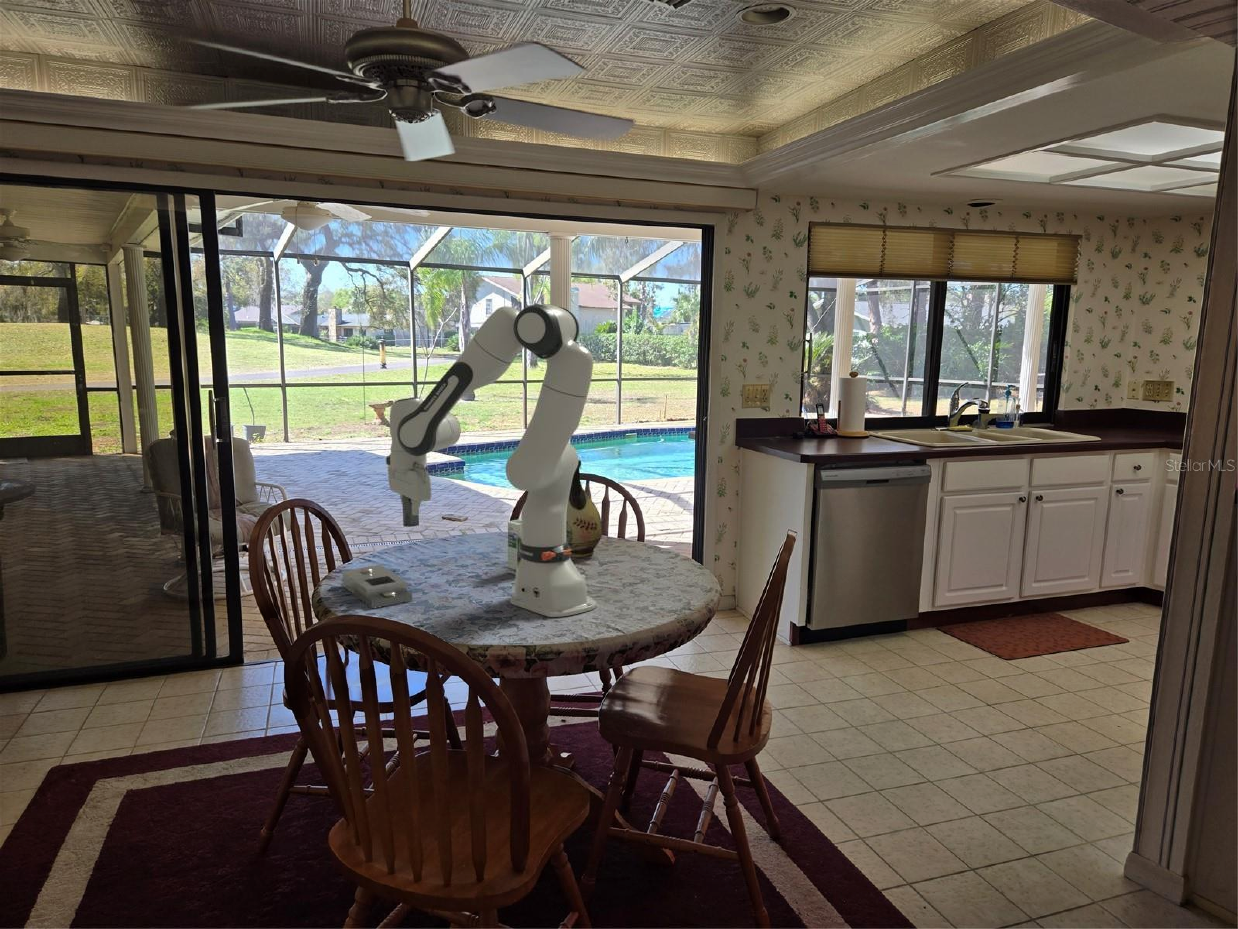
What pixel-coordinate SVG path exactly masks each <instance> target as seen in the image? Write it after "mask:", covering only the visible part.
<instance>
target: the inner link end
mask: <svg viewBox="0 0 1238 929" xmlns="http://www.w3.org/2000/svg"><path fill="white" fill-rule="evenodd" d="M353 595H354V596H355V597H356V596H357V597H358V598H357V597H356V598H357V599H359V600H360V599H361V600H362V601H363V602H362V601H361V600H360V601H361V602H362V603H364V602H365V603H366V604H367V605H366V604H365V603H364V604H365V605H366V606H367V607H369V606H370V607H371V608H374V609H376V608H375V607H379V606H385V607H388V606H389V607H390V606H393V605H394V604H395V605H400V604H404V603H403V602H405V603H410V602H413V593H412V592H411V591H409V590H408V589H407V590H406V591H400V592H395V591H387V592H383V595H378V596H373V597H368V598H367V597H366V596H365V595H363V594H362V593H361V592H359V591H358V590H357V589H356V588H354V594H353ZM399 603H400V604H399ZM370 607H369V608H370ZM371 608H370V609H371ZM379 608H380V607H379Z"/></svg>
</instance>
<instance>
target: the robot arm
mask: <svg viewBox="0 0 1238 929" xmlns="http://www.w3.org/2000/svg"><path fill="white" fill-rule="evenodd" d="M579 334H580V324H579V320H578V319H577V317H576V316H575V315H574V313H573V312H571V311H570V310H569V309H567V308H564V307H561V306H556V305H554V304H546V303H545V304H543V303H542V304H530V305H528V306H526V307H525V308H523V309H521V310H518V309H517V308H515V307H512V306H506V305H505V306H501V307H498V308H496V309H495V311H494V312H492V313H491V314H490V316H488V317H487V319H486V320H485V321H484V322H483V323H482V325H481V326H480V327H479V328H478V330H477V331H476V333H475V334H474V335H473V337H472V339H471V340H470V341H469V343H468V344H467V346H466V347H465V348H464V349H463V351H462V353H461V354H460V355H459V356H458V358H457V359H456V360H455V361H454V363H453V364H452V365H451V367H450V368H449V369H448V370H447V371H446V372H445V374H443V375H442V377H441V378H440V379H439V381H438V382H437V383H436V384H435V386H434V387H433V388H432V389H431V391H430V392H429V393H428V395H427V396H426V397H425V398H424V399H423V398H421V397H417V396H416V397H409V398H401V399H397V400H395V401H394V402H393V403H391V406H390V412H389V434H390V435H389V436H390V437H391V445H390V453H389V455H387V456H385V464H386V465H387V478H388V485H389V488H390V491H392V492H393V493H396V494H397V495H399V499H400V502H401V503H402V495H404V496H406V497H408V498H410V499H411V503H412V507H411V508H410V511H411V512H410V514H411V515H413V516H416V515H419V516H420V507H421V504H422V502H427V501H428V502H429V501H431V499H432V487H431V485H432V484H431V477H430V473H429V471H427V470H426V469H425V468H426V467H428V463H427V454H429V453H433V452H437V451H441V450H443V449H448V448H449V447H453V446H454V445H455V444H457V443H458V441H459V440H460V438H461V432H462V431H461V424H460V422H459V419H458V418H457V417H456V416H455V415H454V414H453V413H451V411H452V409H453V408H454V407H455V406H456V405H457V403H458V402H459V401H460V400H461V399H462V398H463V397H465V396H466V395H467V394H469V393H471V392H473V391H476V390H477V389H480V388H483V387H485V386H489V385H492V384H493V383H495V382H497V380H499V379H500V378H501V377H502V376H503V375H504V374H505V373H506V372H507V371H508V369H509V368H510V366H511V365H512V363H513V362H514V361H515V359H516V357H517V356H518V355H519V353H521V351H522V350H523V349H525V350H528V351H530V352H531V353H532V354H533V355H535V356H536V357H538V358H539V359H541V360H546V370H545V374H544V377H543V381H542V384H541V388H540V392H539V395H538V398H537V402H536V406H535V409H534V411H533V414H532V417H531V419H530V422H529V423H528V425H527V428H526V429H525V431H524V433H523V435H522V437H521V438H520V441H519V443H518V445H517V447H516V448H515V450H514V451H513V452H512V454H511V455H510V456H509V457H508V458H507V460H506V463H505V469H504V470H505V476H506V478H507V480H508V482H509V484H510V485H511V486H512V487H513V488H515V489H516V490H519V491H525V492H527V497H526V500H525V503H524V505H523V507H522V509H521V515H520V516H521V519H520V520H521V529H522V541H521V542H520V547H519V551H520V557H521V561H520V564H519V566H518V567H517V569H516V575H515V581H514V591H513V592H514V593H513V596H512V597H511V598H510V600H509V601H510V602H509V604H511V605H514V606H516V607H519V608H523V609H526V610H528V611H531V612H533V613H537V614H539V615H542V616H544V617H545V616H546V617H549V618H556V617H557V618H558V617H560V618H561V617H566V616H567V617H568V616H573V615H577V614H582V613H585V612H589V611H591V610H594V609H596V608H597V607H598V602H597V601H596V600H594V598H592V597H591V596H589V595H588V589H587V583H586V582H587V577H586V575H585V574H581V572H580V571H579V569H578V567H577V566H576V565H575V564H574V562H573V561H572V559H571V558H572V557H571V554H572V553H570V551H571V550H572V549H570V548H569V545H568V542H567V541H566V514H567V505H568V499H569V494H570V489H571V484H572V479H573V475H574V473H575V470H576V469H577V466H578V460H579V454H578V452H577V449H575V447H574V446H573V445H572V444H570V443H569V441H570V440H571V438H572V436H573V435H574V433H575V432H576V430H578V428H579V426H580V422H581V418H582V415H583V412H584V409H585V404H586V401H587V399H588V394H589V392H590V387H591V383H592V376H593V370H594V369H593V368H594V356H593V354H592V353H591V351H590V350H589V349H588V348H586V347H585V346H584V345H582V344H580V343H577V340H578V337H579ZM402 508H403V506H402Z"/></svg>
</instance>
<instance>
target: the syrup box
mask: <svg viewBox="0 0 1238 929" xmlns="http://www.w3.org/2000/svg"><path fill="white" fill-rule="evenodd" d="M521 541H522V529H521V519H514V520H513V519H512V520H509V521H508V522H507V573H509V574H513V575H515V576H516V569H517V567H518V566H519V564H520V561H521V557H520V551H519V547H520V542H521Z"/></svg>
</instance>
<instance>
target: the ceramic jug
mask: <svg viewBox="0 0 1238 929" xmlns="http://www.w3.org/2000/svg"><path fill="white" fill-rule="evenodd" d="M581 467H582V461H581V460H580V459H578V466H577V469H576V470H575V473H574V475H573V479H572V484H571V489H570V494H569V499H568V505H567V514H566V541H567V542H568V545H569V548H570V549H572V550H571V551H570V553H572V554H571V557H570V558H583V557H587V556H592V555H594V553H595V550H594V549H596V548H597V546H598V544H599V543H600V541H601V539H602V536H603V522H602V518H601V515H600V512H599V509H598V507H597V506H596V505H595V502H594V501H593V500H592V498H591V497H590V496H589V495H588V493H587V492H586V489H585V490H584V488H583V484H582V483H581V472H580V468H581Z"/></svg>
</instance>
